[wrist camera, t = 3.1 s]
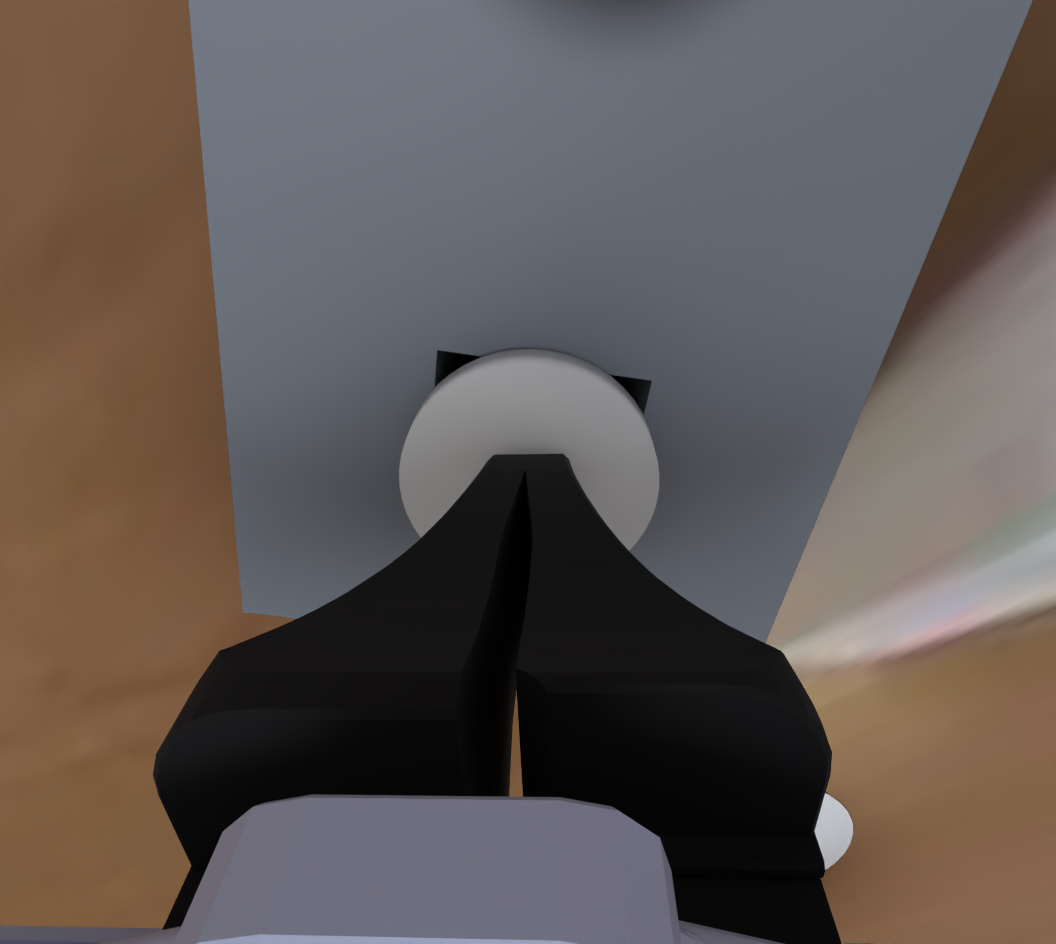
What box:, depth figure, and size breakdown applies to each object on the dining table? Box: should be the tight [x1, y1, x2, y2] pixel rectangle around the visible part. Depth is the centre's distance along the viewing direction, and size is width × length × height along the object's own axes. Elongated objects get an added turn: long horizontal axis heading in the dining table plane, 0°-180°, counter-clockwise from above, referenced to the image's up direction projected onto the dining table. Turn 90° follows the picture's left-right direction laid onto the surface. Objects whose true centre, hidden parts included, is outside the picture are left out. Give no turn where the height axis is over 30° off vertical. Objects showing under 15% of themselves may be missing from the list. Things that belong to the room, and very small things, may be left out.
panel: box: [189, 0, 1033, 643], centre depth 13 cm, size 12×20×4 cm, turn 172°
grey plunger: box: [399, 349, 659, 550], centre depth 15 cm, size 5×5×4 cm
